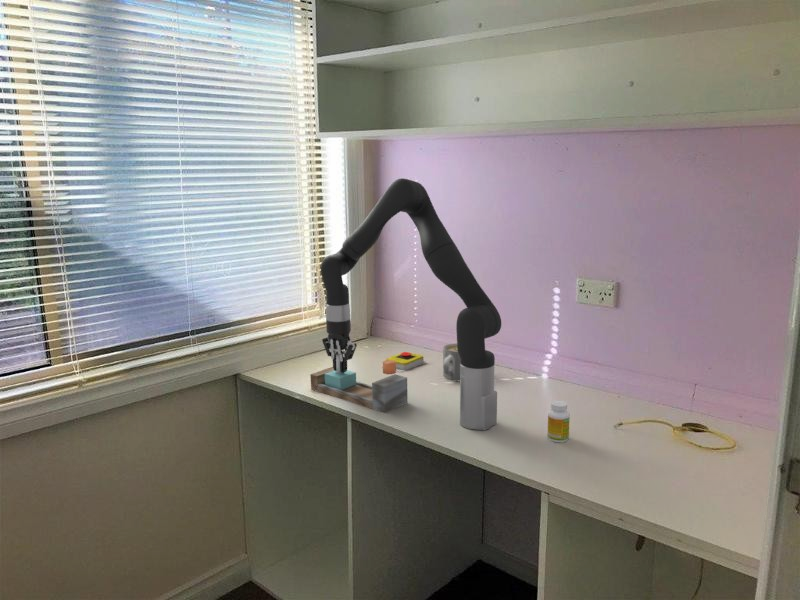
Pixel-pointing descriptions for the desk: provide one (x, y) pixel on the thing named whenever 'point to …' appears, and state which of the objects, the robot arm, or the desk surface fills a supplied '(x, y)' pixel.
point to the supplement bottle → (558, 422)
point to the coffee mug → (451, 362)
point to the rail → (367, 391)
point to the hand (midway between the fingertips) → (340, 370)
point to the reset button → (389, 367)
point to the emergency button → (406, 361)
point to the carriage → (340, 377)
